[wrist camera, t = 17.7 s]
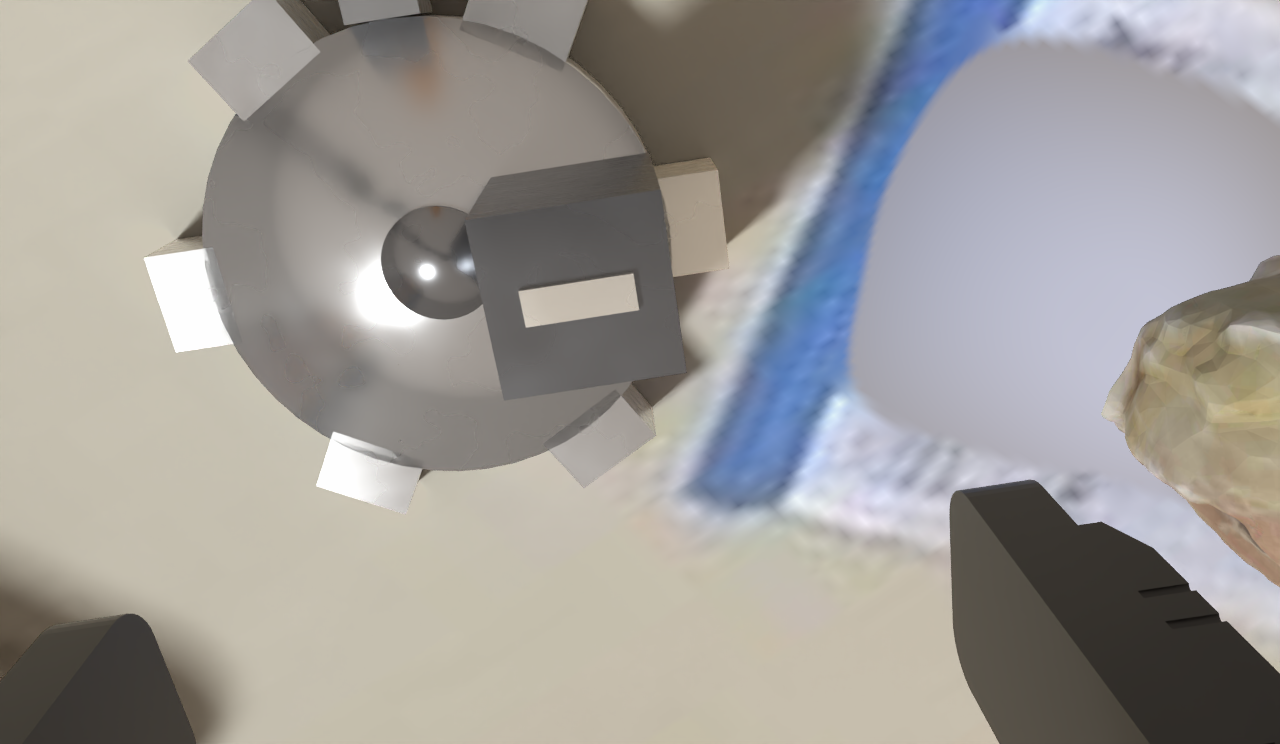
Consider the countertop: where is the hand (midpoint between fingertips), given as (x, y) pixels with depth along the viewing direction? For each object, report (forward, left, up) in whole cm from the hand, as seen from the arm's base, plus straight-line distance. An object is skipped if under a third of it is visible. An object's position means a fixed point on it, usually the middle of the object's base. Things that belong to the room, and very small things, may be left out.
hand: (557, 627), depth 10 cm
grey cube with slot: (0, 0, -16) cm, 16 cm away
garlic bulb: (+18, -8, -19) cm, 27 cm away
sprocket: (-4, 0, -18) cm, 19 cm away
